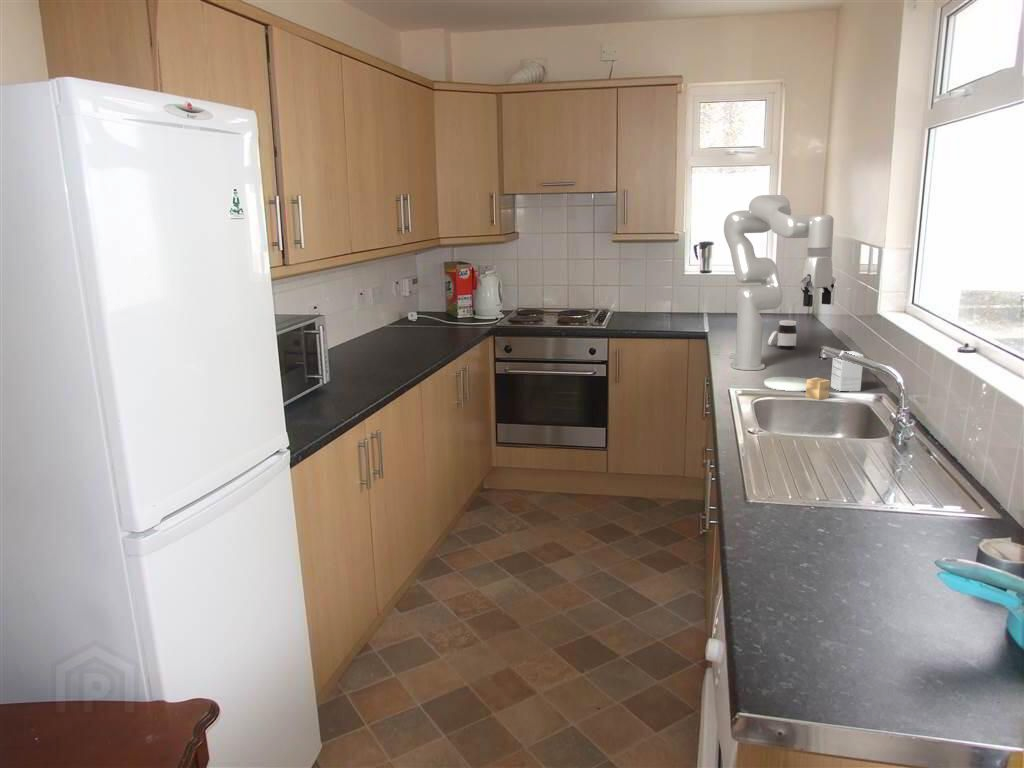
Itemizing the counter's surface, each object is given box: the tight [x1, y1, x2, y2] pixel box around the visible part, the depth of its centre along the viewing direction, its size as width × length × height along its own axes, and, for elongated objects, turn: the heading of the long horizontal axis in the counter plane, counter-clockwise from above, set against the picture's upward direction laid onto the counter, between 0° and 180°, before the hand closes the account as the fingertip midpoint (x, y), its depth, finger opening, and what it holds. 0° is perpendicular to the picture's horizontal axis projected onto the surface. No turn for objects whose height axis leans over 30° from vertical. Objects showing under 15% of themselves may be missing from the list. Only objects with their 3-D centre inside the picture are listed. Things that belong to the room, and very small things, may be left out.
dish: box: [763, 376, 808, 392], centre depth 267 cm, size 18×18×1 cm
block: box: [805, 377, 831, 401], centre depth 251 cm, size 5×5×6 cm
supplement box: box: [830, 350, 864, 392], centre depth 260 cm, size 7×7×13 cm
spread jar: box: [767, 319, 798, 350], centre depth 333 cm, size 12×11×12 cm
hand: (816, 305), depth 255 cm, fingers open, 9 cm apart
